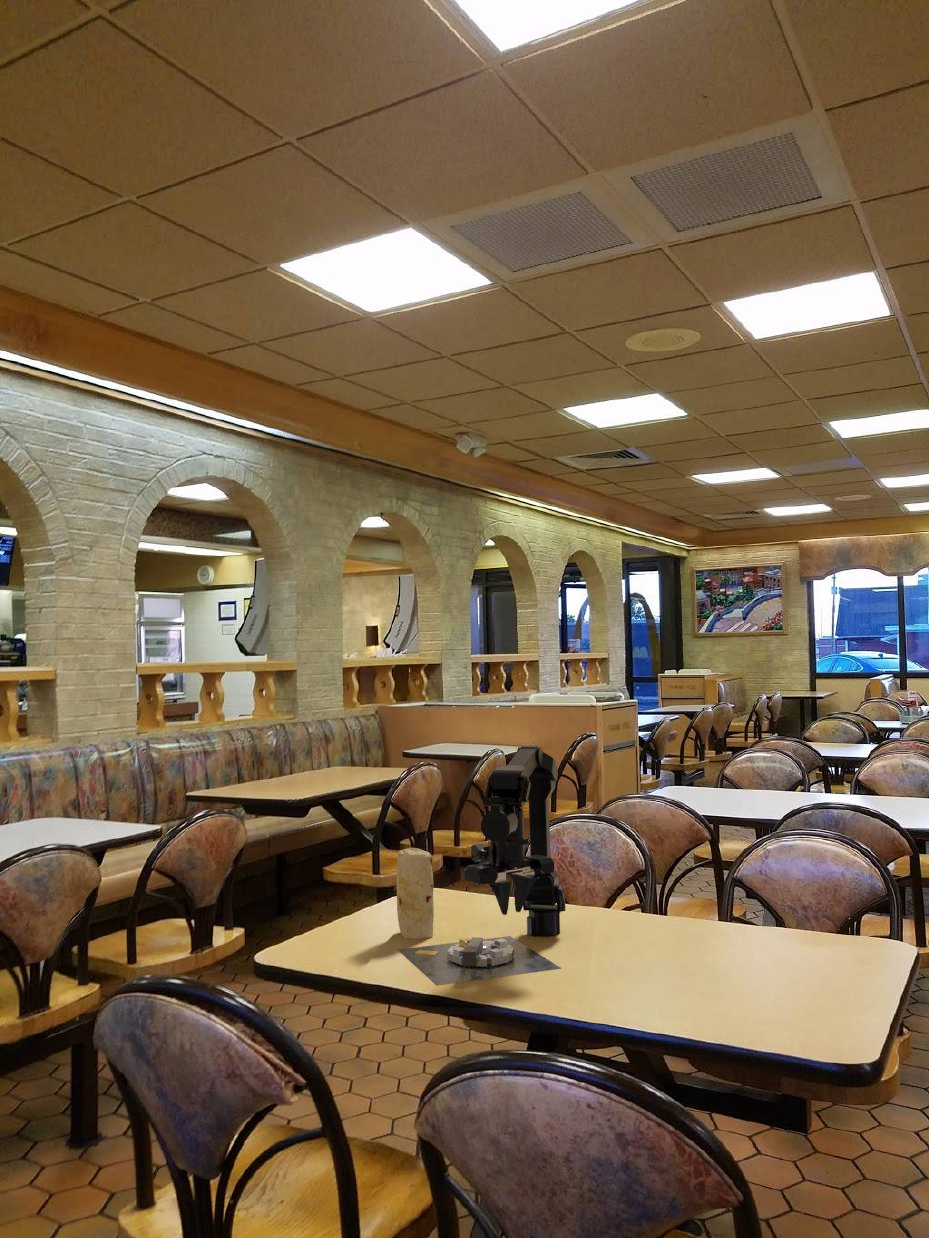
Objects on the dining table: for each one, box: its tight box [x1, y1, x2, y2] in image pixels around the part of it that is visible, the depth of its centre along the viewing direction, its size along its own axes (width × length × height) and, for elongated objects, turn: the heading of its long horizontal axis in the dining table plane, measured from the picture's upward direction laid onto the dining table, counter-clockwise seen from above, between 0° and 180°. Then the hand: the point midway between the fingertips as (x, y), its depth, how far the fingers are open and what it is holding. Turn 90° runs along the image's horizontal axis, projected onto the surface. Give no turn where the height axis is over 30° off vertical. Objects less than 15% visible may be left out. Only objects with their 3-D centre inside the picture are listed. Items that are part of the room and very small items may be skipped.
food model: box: [396, 847, 435, 940], centre depth 220 cm, size 10×7×20 cm
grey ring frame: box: [447, 936, 514, 966], centre depth 196 cm, size 21×13×5 cm, turn 170°
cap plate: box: [397, 935, 562, 986], centre depth 200 cm, size 26×26×3 cm
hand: (511, 913), depth 192 cm, fingers open, 3 cm apart
